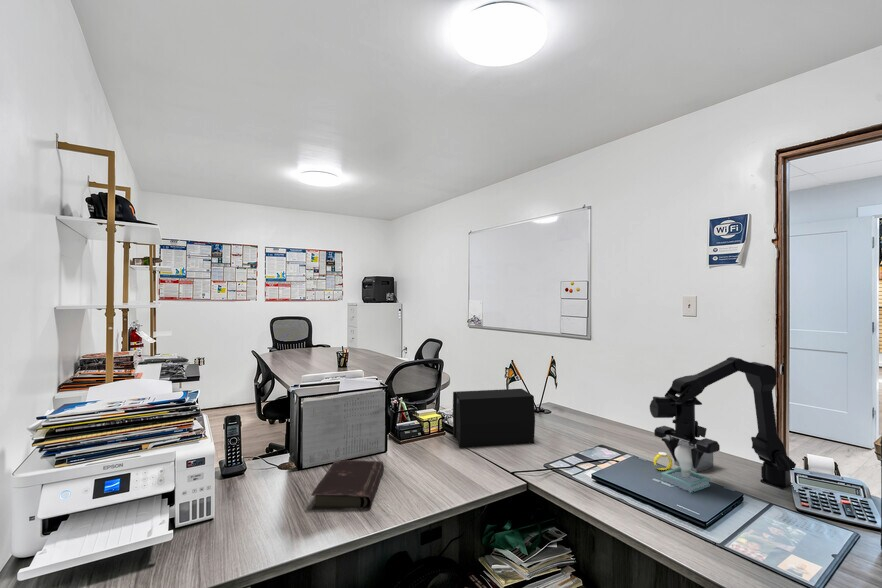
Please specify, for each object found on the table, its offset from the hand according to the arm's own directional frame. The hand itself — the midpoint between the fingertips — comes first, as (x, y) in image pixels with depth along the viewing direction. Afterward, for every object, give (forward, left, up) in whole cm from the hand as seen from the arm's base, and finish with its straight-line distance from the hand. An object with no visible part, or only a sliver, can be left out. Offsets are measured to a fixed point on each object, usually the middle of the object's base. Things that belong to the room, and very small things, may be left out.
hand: (685, 464), depth 134 cm
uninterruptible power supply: (+63, +33, -6) cm, 72 cm away
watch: (+10, -3, -6) cm, 12 cm away
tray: (0, 0, -6) cm, 6 cm away
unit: (+7, -16, -6) cm, 18 cm away
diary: (+47, +100, -7) cm, 111 cm away
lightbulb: (0, 0, -5) cm, 5 cm away
